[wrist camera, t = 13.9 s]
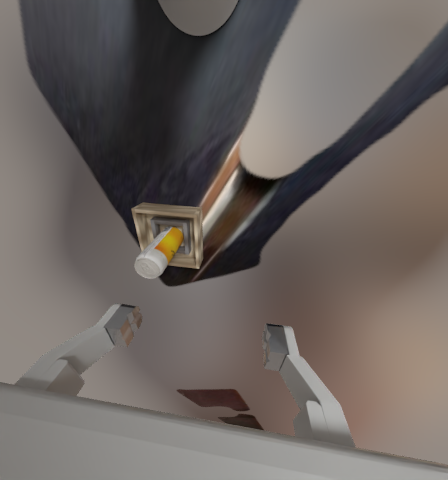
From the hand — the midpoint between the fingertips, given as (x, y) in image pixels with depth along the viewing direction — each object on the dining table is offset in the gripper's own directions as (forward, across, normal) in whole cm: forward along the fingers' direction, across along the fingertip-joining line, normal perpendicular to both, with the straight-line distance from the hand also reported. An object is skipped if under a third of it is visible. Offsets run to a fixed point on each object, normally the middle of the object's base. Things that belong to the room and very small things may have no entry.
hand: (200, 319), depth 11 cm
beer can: (+34, +16, +13) cm, 39 cm away
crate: (+34, +16, +13) cm, 40 cm away
